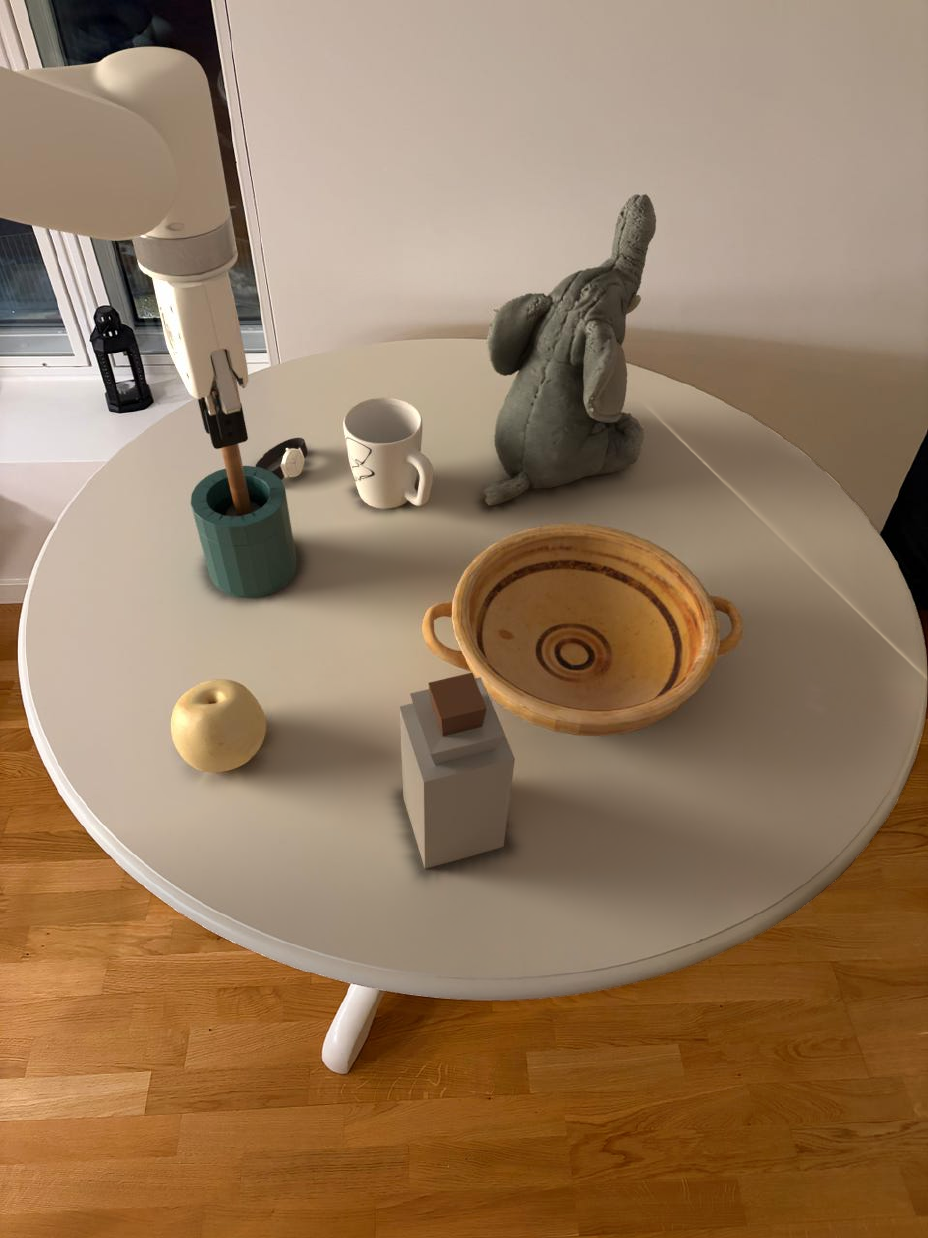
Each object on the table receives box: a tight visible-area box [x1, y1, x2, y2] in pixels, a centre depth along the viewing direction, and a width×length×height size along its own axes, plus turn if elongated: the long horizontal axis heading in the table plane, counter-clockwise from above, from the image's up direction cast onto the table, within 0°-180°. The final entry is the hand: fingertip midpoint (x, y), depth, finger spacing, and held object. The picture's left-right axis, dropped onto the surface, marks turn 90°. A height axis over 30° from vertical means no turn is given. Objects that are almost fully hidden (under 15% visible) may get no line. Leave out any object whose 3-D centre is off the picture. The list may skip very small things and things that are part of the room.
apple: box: [170, 678, 267, 773], centre depth 78 cm, size 8×8×8 cm
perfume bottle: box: [398, 672, 516, 870], centre depth 69 cm, size 7×7×18 cm
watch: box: [255, 437, 309, 481], centre depth 104 cm, size 8×5×4 cm, turn 151°
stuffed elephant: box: [483, 193, 657, 506], centre depth 99 cm, size 19×21×27 cm
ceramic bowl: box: [421, 522, 744, 737], centre depth 84 cm, size 30×24×8 cm
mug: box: [342, 396, 435, 510], centre depth 99 cm, size 11×8×10 cm
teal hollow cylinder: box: [190, 465, 297, 599], centre depth 91 cm, size 9×9×10 cm
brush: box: [212, 390, 261, 517], centre depth 86 cm, size 4×4×20 cm
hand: (226, 435), depth 82 cm, fingers closed on brush
